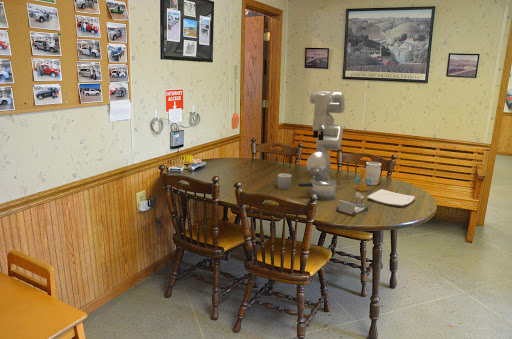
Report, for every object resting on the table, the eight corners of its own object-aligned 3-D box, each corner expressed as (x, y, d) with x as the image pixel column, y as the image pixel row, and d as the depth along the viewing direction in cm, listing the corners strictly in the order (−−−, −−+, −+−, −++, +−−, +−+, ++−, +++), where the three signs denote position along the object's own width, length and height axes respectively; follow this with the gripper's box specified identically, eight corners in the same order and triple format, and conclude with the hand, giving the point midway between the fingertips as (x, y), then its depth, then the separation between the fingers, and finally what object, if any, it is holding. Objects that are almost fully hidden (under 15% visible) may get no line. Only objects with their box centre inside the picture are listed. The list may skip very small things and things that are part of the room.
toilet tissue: (275, 183, 284) (275, 172, 281) (293, 186, 278) (293, 174, 276) (269, 187, 276) (270, 174, 274) (288, 190, 270) (288, 177, 268)
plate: (379, 192, 273) (380, 188, 272) (417, 200, 258) (417, 196, 257) (364, 200, 255) (364, 196, 254) (403, 210, 240) (403, 205, 239)
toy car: (354, 189, 244) (371, 194, 236) (353, 205, 246) (370, 210, 238) (337, 195, 231) (354, 200, 223) (335, 211, 234) (353, 217, 226)
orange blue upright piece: (357, 192, 269) (359, 170, 265) (350, 188, 279) (352, 166, 275) (374, 191, 272) (376, 170, 268) (366, 187, 282) (368, 166, 278)
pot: (294, 193, 264) (295, 178, 262) (329, 191, 269) (330, 177, 267) (301, 201, 249) (302, 185, 246) (339, 199, 254) (340, 184, 251)
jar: (379, 186, 285) (382, 165, 282) (364, 184, 287) (366, 164, 284) (378, 182, 295) (380, 161, 292) (363, 180, 297) (365, 160, 294)
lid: (307, 178, 264) (305, 177, 267) (330, 177, 267) (328, 177, 270) (307, 152, 262) (305, 152, 266) (330, 151, 265) (328, 151, 269)
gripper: (309, 111, 272) (308, 136, 276) (319, 114, 255) (317, 141, 259) (320, 111, 273) (318, 136, 277) (330, 114, 257) (328, 141, 261)
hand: (318, 138), depth 268 cm, fingers open, 9 cm apart
